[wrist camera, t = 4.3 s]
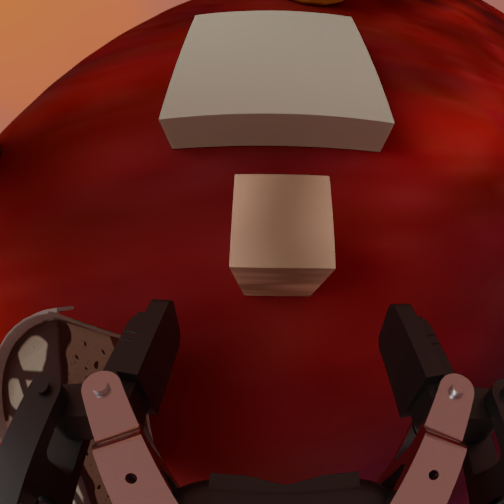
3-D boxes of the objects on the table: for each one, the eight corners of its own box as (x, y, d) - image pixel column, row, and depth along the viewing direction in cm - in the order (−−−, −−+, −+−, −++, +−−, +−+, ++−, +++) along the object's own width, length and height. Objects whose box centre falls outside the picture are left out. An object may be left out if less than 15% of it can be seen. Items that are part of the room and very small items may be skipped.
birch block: (244, 295, 20) (229, 266, 13) (246, 232, 21) (234, 174, 14) (310, 296, 20) (335, 268, 12) (309, 233, 21) (329, 176, 14)
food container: (72, 323, 20) (-21, 304, 11) (137, 320, 20) (48, 299, 10) (94, 466, 16) (17, 507, 7) (161, 476, 16) (98, 541, 7)
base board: (172, 148, 24) (158, 119, 20) (200, 40, 29) (195, 15, 25) (380, 152, 23) (394, 123, 19) (346, 41, 28) (351, 17, 24)
